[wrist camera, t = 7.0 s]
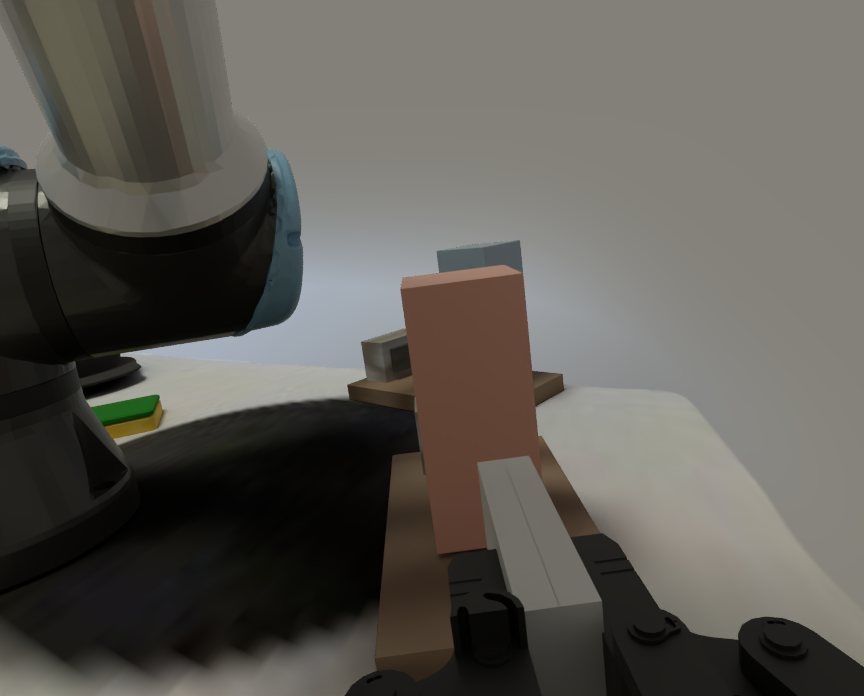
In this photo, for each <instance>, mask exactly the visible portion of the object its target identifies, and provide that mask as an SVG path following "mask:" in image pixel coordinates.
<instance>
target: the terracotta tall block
mask: <svg viewBox="0 0 864 696" xmlns="http://www.w3.org/2000/svg"><path fill="white" fill-rule="evenodd" d="M401 296H402V304H403V311H404V318H405V325H406V333H407V340H408V347H409V354H410V362H411V369H412V376H413V383H414V390H415V398H416V405H417V412H418V419H419V427H420V434H421V441H422V448H423V455H424V463H425V470H426V477H427V484H428V492H429V499H430V506H431V513H432V521H433V528H434V535H435V542H436V549H437V554H443V553H450V552H458V551H466V550H473V549H481V548H487V542H486V534H485V525H484V517H483V508H482V500H481V491H480V483H479V474H478V466H477V462H485V461H492V460H500V459H507V458H515V457H522V456H529V457H530V459H531V461H532V463H533V465H534V467H535V469H536V471H537V473H538V475H539V477H540V479H541V481H542V474H541V463H540V452H539V441H538V430H537V420H536V409H535V398H534V387H533V377H532V366H531V355H530V344H529V334H528V323H527V312H526V301H525V291H524V280H523V273H521V272H519V271H517V270H515V269H513V268H510V267H508V266H506V265H497V266H490V267H482V268H474V269H467V270H459V271H451V272H444V273H436V274H429V275H420V276H414V277H405V278H403V279H402V284H401Z"/></svg>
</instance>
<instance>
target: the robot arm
mask: <svg viewBox="0 0 864 696" xmlns="http://www.w3.org/2000/svg"><path fill="white" fill-rule="evenodd" d="M0 23H1V26H2V28H3V30H4V32H5V34H6V36H7V39H8V41H9V42H10V45H11V47H12V49H13V51H14V53H15V56H16V58H17V60H18V62H19V64H20V66H21V68H22V71H23V73H24V75H25V77H26V79H27V82H28V84H29V86H30V88H31V90H32V92H33V94H34V97H35V99H36V101H37V103H38V105H39V107H40V109H41V112H42V114H43V116H44V118H45V120H46V122H47V124H48V127H49V128H50V131H49V133H48V134H47V135H46V136H45V138H44V139H43V141H42V143H41V145H40V146H39V150H38V153H37V156H36V164H35V169H27V165H26V163H25V162H24V161H23V160H21V159H20V157H19V155H18V154H17V153H16V152H15V151H14V150H12V149H10V148H8V147H6V146H2V145H0V590H3V589H6V588H8V587H11V586H14V585H16V584H19V583H21V582H24V581H26V580H29V579H31V578H33V577H36V576H38V575H40V574H43V573H45V572H47V571H49V570H51V569H54V568H56V567H58V566H60V565H62V564H64V563H66V562H68V561H70V560H72V559H74V558H75V557H77V556H79V555H81V554H83V553H84V552H86V551H88V550H89V549H91V548H93V547H94V546H96V545H98V544H99V543H101V542H102V541H104V540H105V539H107V538H108V537H109V536H111V535H112V534H113V533H115V532H116V531H117V530H118V529H120V528H121V527H122V526H123V525H124V524H125V523H126V522H127V521H128V520H129V519H130V518H131V517H132V516H133V515H134V513H135V512H136V510H137V509H138V507H139V504H140V500H141V496H140V492H139V489H138V485H137V481H136V477H135V473H134V470H133V468H132V466H131V464H130V462H129V461H128V460H127V458H126V457H125V455H124V454H123V453H122V451H121V450H120V448H119V447H118V445H117V444H116V443H115V441H114V440H113V438H112V437H111V436H110V434H109V433H108V431H107V430H106V428H105V427H104V426H103V424H102V423H101V421H100V420H99V419H98V417H97V416H96V414H95V413H94V411H93V410H92V409H91V407H90V406H89V404H88V403H87V401H86V399H85V397H84V394H83V391H82V387H81V384H80V380H79V376H78V372H77V369H76V363H75V361H79V360H85V359H91V358H97V357H101V356H107V355H113V354H120V353H126V352H133V351H139V350H145V349H152V348H158V347H165V346H171V345H177V344H184V343H190V342H196V341H203V340H209V339H216V338H222V337H229V336H234V337H236V336H242V335H244V334H246V333H248V332H250V331H251V330H256V329H261V328H265V327H270V326H274V325H278V324H280V323H282V322H284V321H285V320H287V319H288V318H289V317H290V316H291V315H292V314H293V312H294V311H295V309H296V307H297V304H298V301H299V297H300V293H301V287H302V275H303V247H302V244H301V240H300V235H301V215H300V207H299V200H298V194H297V189H296V184H295V180H294V177H293V173H292V170H291V167H290V164H289V162H288V160H287V159H286V157H285V156H284V155H283V153H281V152H280V151H277V150H275V149H268V148H266V145H265V142H264V139H263V137H262V135H261V134H260V132H259V130H258V129H257V127H256V126H255V125H254V123H252V121H251V120H249V119H248V118H247V117H246V116H245V115H244V114H242V113H241V112H240V111H238V110H237V109H235V108H234V107H232V103H231V97H230V90H229V84H228V78H227V72H226V65H225V59H224V53H223V46H222V39H221V33H220V27H219V20H218V14H217V8H216V1H215V0H0ZM477 466H478V474H479V483H480V491H481V500H482V508H483V517H484V525H485V534H486V542H487V549H488V550H483V551H476V552H468V553H461V554H455V555H454V557H453V559H452V560H451V562H450V564H449V566H448V568H447V569H448V579H449V589H450V599H451V614H450V622H451V629H452V636H453V643H454V652H453V654H452V657H451V659H450V660H449V661H448V662H447V664H446V665H445V666H444V667H443V668H441V669H440V670H439V671H438V672H436V673H434V674H433V675H431V676H429V677H427V678H425V679H422V680H420V681H417V682H415V680H414V679H413V678H412V677H410V676H409V675H408V674H406V673H405V672H401V671H396V670H392V669H391V670H381V671H376V672H373V673H371V674H368V675H366V676H363V677H362V678H361V679H359V680H358V681H357V682H356V683H354V684H353V685H352V686H351V687H350V689H349V690H348V692H347V693H346V695H345V696H864V667H863V666H862V665H860V664H859V663H857V662H856V661H855V660H853V659H852V658H850V657H849V656H848V655H846V654H845V653H843V652H842V651H841V650H839V649H838V648H836V647H835V646H834V645H832V644H831V643H829V642H828V641H827V640H825V639H824V638H822V637H821V636H820V635H818V634H817V633H815V632H814V631H812V630H810V629H808V628H807V627H805V626H803V625H801V624H799V623H796V622H793V621H790V620H786V619H783V618H774V617H761V618H755V619H751V620H749V621H748V622H746V623H744V624H743V625H742V626H741V629H740V631H739V633H738V640H733V639H724V638H714V637H707V636H702V635H697V634H694V633H691V632H690V631H689V629H688V628H687V626H686V625H685V624H684V623H683V622H682V621H681V620H680V619H679V618H678V617H677V616H675V615H673V614H671V613H669V612H667V611H665V610H662V609H660V608H659V607H658V605H657V604H656V602H655V601H654V599H653V598H652V596H651V594H650V593H649V591H648V590H647V588H646V587H645V585H644V584H643V582H642V580H641V579H640V577H639V576H638V574H637V573H636V571H634V568H633V566H632V565H631V563H630V562H629V560H627V557H626V556H625V554H624V552H623V551H622V549H621V548H620V546H619V545H618V543H616V542H615V541H613V540H611V539H610V538H608V537H607V536H605V535H604V534H602V533H599V534H592V535H584V536H576V537H570V536H569V534H568V532H567V530H566V528H565V526H564V524H563V522H562V520H561V518H560V516H559V514H558V512H557V510H556V508H555V506H554V504H553V502H552V500H551V498H550V496H549V494H548V492H547V490H546V488H545V487H544V485H543V483H542V481H541V479H540V477H539V475H538V473H537V471H536V469H535V467H534V465H533V463H532V461H531V459H530V457H529V456H522V457H515V458H507V459H500V460H492V461H485V462H477Z"/></svg>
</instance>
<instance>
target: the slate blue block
mask: <svg viewBox="0 0 864 696" xmlns="http://www.w3.org/2000/svg"><path fill="white" fill-rule="evenodd" d="M437 258H438V266H439V273H444V272H451V271H459V270H467V269H474V268H482V267H490V266H497V265H506V266H508V267H510V268H513V269H515V270H517V271H519V272H521V273H523V268H522V257H521V248H520V241H519V240H517V241H506V242H494V243H484V244H483V243H482V244H472V245H467V246H461V247H456V248H451V249H446V250H440V251H437ZM523 280H524V279H523ZM524 291H525V290H524ZM527 323H528V322H527ZM528 334H529V333H528ZM530 355H531V354H530ZM531 366H532V365H531ZM532 377H533V376H532Z"/></svg>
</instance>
